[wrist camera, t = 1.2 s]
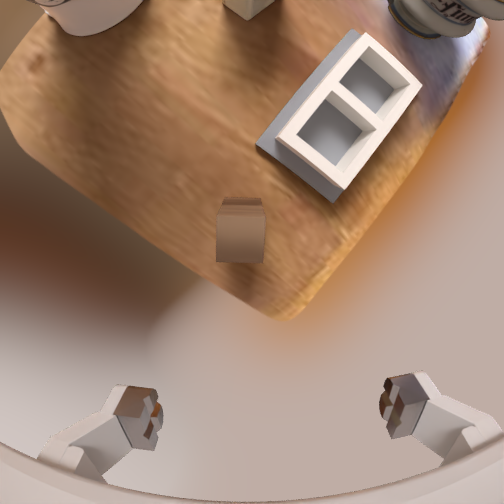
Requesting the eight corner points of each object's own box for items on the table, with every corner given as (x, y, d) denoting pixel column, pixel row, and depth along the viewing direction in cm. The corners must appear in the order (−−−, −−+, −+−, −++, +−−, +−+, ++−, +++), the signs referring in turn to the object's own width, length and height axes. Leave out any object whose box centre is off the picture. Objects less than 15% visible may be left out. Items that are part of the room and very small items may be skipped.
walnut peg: (225, 197, 34) (216, 215, 24) (260, 198, 34) (265, 217, 25) (224, 231, 35) (216, 261, 26) (258, 232, 35) (263, 263, 26)
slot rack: (330, 202, 34) (343, 210, 29) (255, 143, 32) (256, 142, 27) (415, 90, 29) (436, 84, 25) (349, 30, 27) (363, 16, 22)
